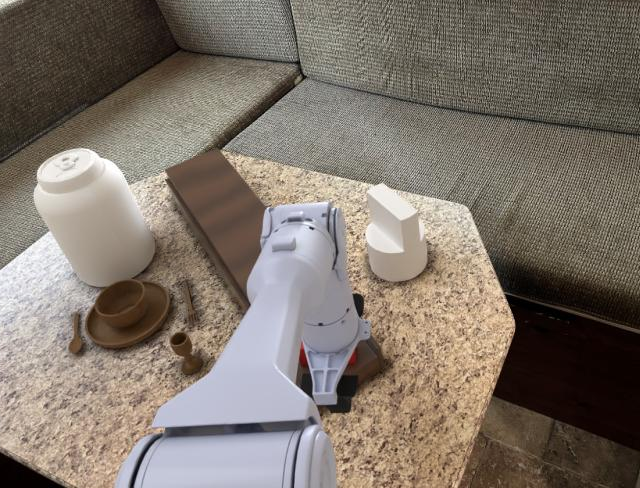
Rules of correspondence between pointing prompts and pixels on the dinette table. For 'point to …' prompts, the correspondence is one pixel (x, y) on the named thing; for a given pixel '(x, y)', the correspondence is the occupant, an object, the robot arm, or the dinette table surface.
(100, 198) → the can
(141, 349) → the dinette table surface
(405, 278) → the base with upright slab
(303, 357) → the red rectangular block
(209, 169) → the long wooden plank
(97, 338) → the place setting
